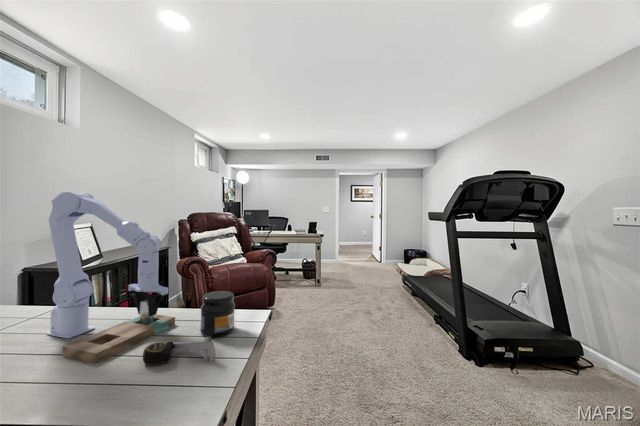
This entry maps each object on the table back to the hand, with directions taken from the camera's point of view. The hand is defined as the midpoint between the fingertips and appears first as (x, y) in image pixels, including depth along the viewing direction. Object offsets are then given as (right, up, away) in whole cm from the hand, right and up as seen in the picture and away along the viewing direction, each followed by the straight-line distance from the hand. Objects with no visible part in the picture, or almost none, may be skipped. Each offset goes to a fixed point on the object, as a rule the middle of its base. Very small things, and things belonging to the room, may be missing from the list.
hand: (147, 314), depth 93 cm
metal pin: (0, -3, 0) cm, 3 cm away
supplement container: (+24, -6, -1) cm, 24 cm away
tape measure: (+15, -6, -19) cm, 25 cm away
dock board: (-2, -5, -7) cm, 9 cm away
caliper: (+19, -6, -15) cm, 25 cm away
